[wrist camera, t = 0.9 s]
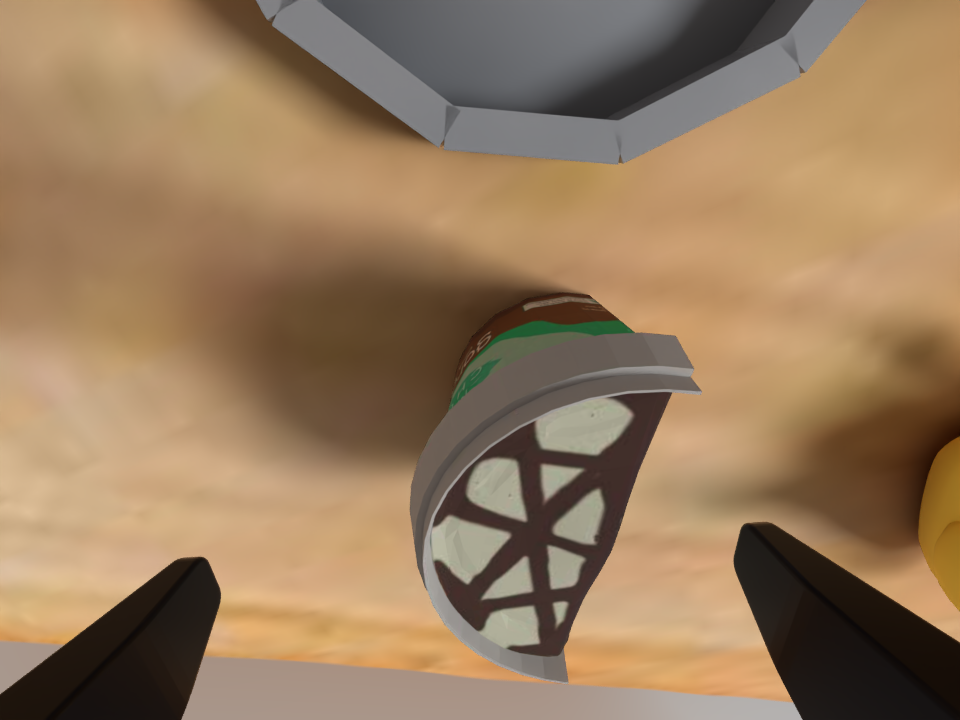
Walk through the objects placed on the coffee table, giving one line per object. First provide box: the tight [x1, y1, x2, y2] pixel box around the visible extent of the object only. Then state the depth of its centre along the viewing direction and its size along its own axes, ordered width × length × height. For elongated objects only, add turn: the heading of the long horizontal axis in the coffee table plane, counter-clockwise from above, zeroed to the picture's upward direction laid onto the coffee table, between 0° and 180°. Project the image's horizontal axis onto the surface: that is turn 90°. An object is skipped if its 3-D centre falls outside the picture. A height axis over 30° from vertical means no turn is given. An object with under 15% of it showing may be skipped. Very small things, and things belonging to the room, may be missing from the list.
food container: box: [410, 293, 702, 684], centre depth 17 cm, size 12×6×10 cm, turn 169°
